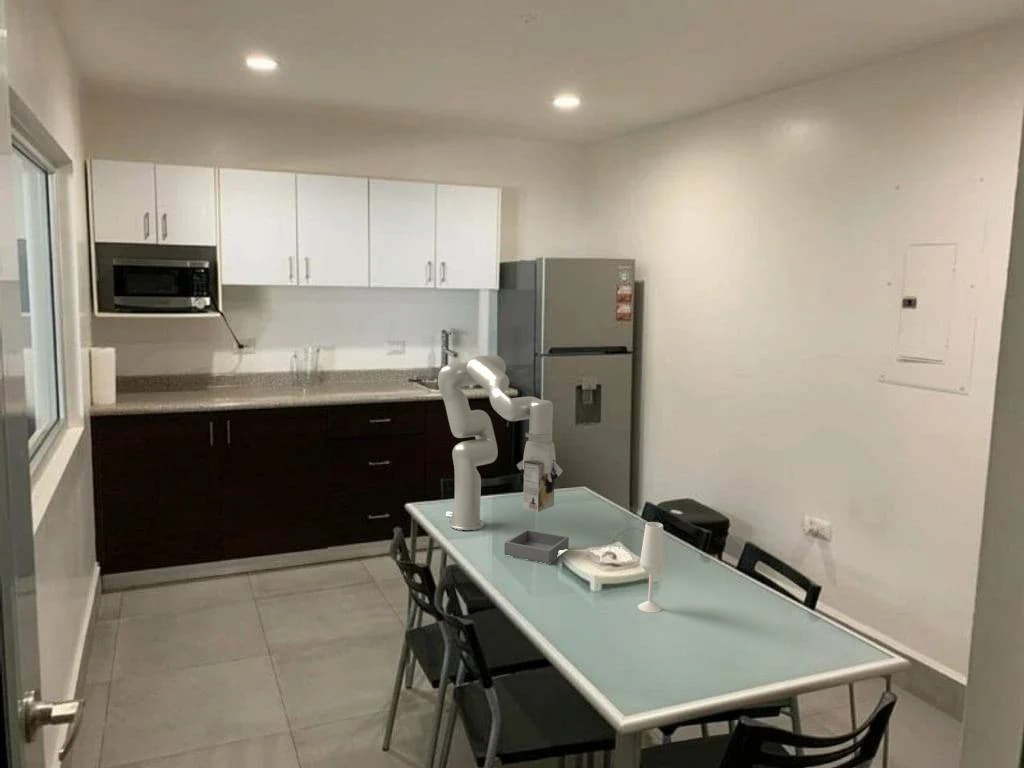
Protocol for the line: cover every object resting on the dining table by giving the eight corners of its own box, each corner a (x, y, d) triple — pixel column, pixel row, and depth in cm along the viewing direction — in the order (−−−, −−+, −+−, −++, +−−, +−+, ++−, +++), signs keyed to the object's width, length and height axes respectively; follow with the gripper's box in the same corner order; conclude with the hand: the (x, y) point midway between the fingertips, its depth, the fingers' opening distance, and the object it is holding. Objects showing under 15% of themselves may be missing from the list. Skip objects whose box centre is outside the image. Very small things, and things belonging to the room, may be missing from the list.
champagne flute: (644, 613, 212) (648, 529, 209) (633, 603, 218) (637, 521, 215) (666, 611, 214) (671, 527, 211) (655, 601, 220) (659, 520, 217)
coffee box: (538, 502, 260) (539, 456, 258) (554, 506, 257) (555, 459, 255) (522, 508, 253) (523, 460, 251) (538, 512, 249) (539, 463, 247)
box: (504, 555, 254) (504, 542, 253) (525, 541, 268) (526, 529, 267) (548, 564, 246) (549, 551, 246) (568, 549, 261) (568, 537, 260)
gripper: (511, 436, 252) (510, 489, 255) (560, 443, 245) (558, 497, 247) (521, 433, 259) (520, 484, 261) (569, 439, 251) (567, 492, 254)
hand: (538, 490), depth 254 cm, fingers closed on coffee box, 7 cm apart
